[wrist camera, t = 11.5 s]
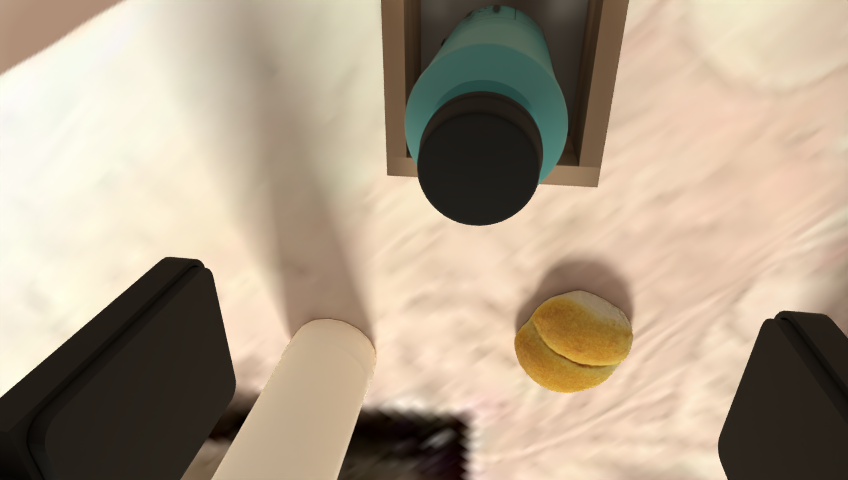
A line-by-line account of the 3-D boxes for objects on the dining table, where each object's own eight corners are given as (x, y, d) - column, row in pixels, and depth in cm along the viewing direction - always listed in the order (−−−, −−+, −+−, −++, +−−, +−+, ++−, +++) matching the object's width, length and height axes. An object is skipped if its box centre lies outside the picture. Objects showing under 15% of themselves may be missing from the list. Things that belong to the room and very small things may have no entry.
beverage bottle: (511, -25, 31) (502, 7, 14) (570, 69, 33) (629, 199, 16) (424, 45, 34) (327, 145, 17) (484, 128, 36) (454, 295, 18)
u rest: (615, -46, 30) (636, -45, 25) (585, 152, 36) (597, 187, 31) (401, -46, 32) (379, -45, 27) (405, 144, 38) (387, 175, 32)
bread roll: (499, 348, 45) (498, 382, 42) (558, 272, 41) (562, 302, 37) (582, 390, 46) (588, 426, 42) (649, 319, 42) (661, 352, 38)
